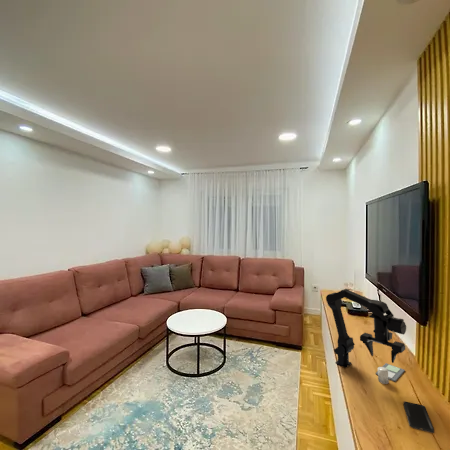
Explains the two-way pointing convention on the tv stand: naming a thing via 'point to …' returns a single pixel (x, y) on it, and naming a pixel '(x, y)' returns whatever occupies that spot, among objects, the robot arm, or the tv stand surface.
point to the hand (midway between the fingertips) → (382, 359)
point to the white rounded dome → (383, 375)
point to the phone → (418, 417)
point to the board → (393, 372)
